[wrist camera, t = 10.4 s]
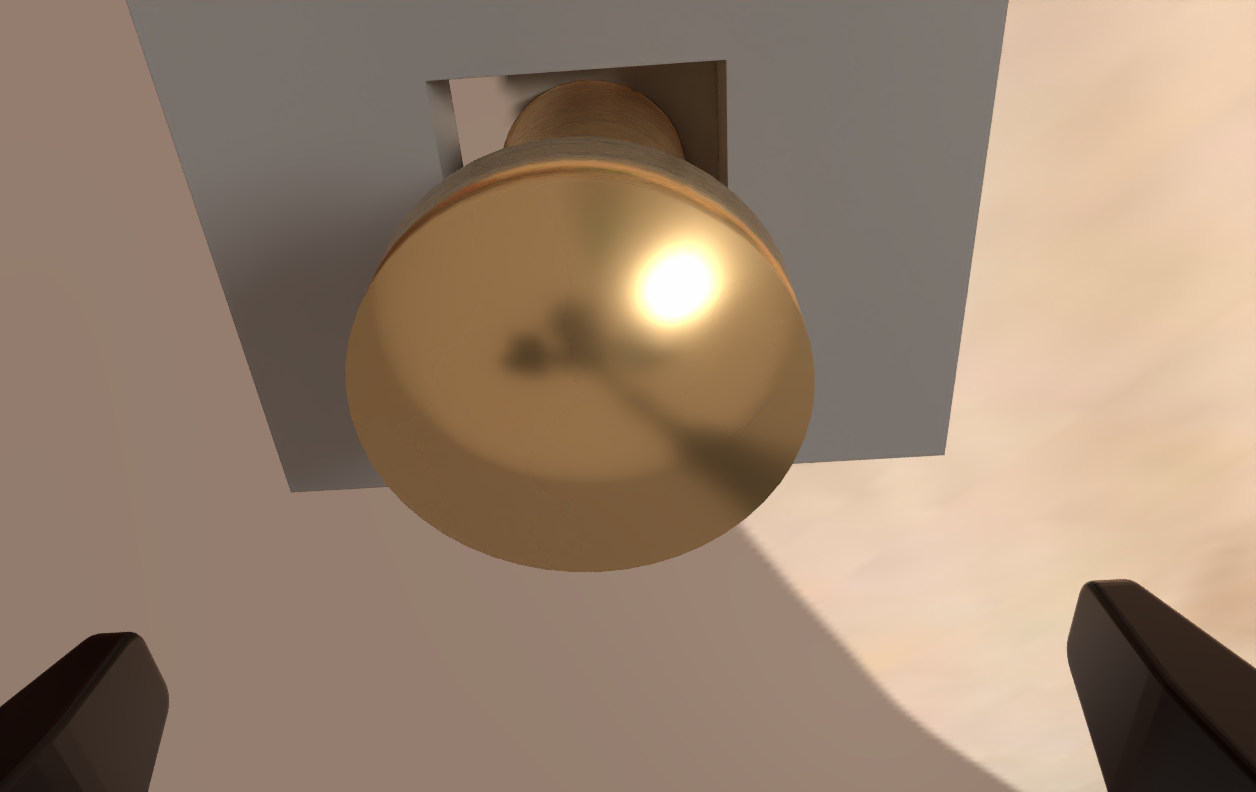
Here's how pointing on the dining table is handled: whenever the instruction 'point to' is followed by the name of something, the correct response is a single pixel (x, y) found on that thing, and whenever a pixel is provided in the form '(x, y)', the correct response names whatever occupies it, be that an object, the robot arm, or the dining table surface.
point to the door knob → (581, 346)
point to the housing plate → (580, 40)
